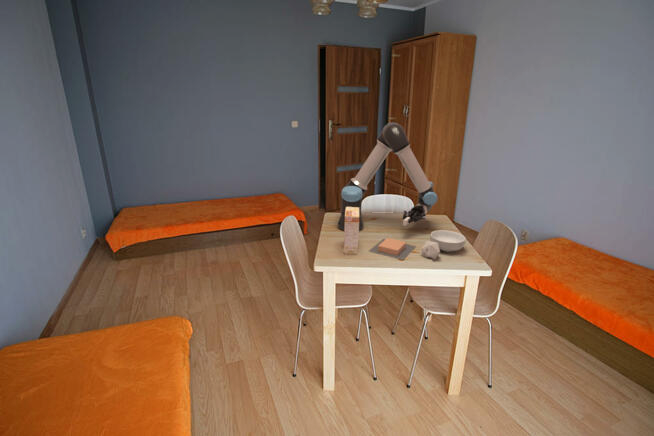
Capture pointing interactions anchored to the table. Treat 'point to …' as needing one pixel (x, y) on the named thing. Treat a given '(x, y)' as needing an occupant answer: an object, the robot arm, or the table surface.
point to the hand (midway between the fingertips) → (404, 222)
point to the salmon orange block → (391, 246)
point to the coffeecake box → (351, 230)
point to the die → (431, 249)
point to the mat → (401, 255)
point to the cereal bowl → (448, 240)
